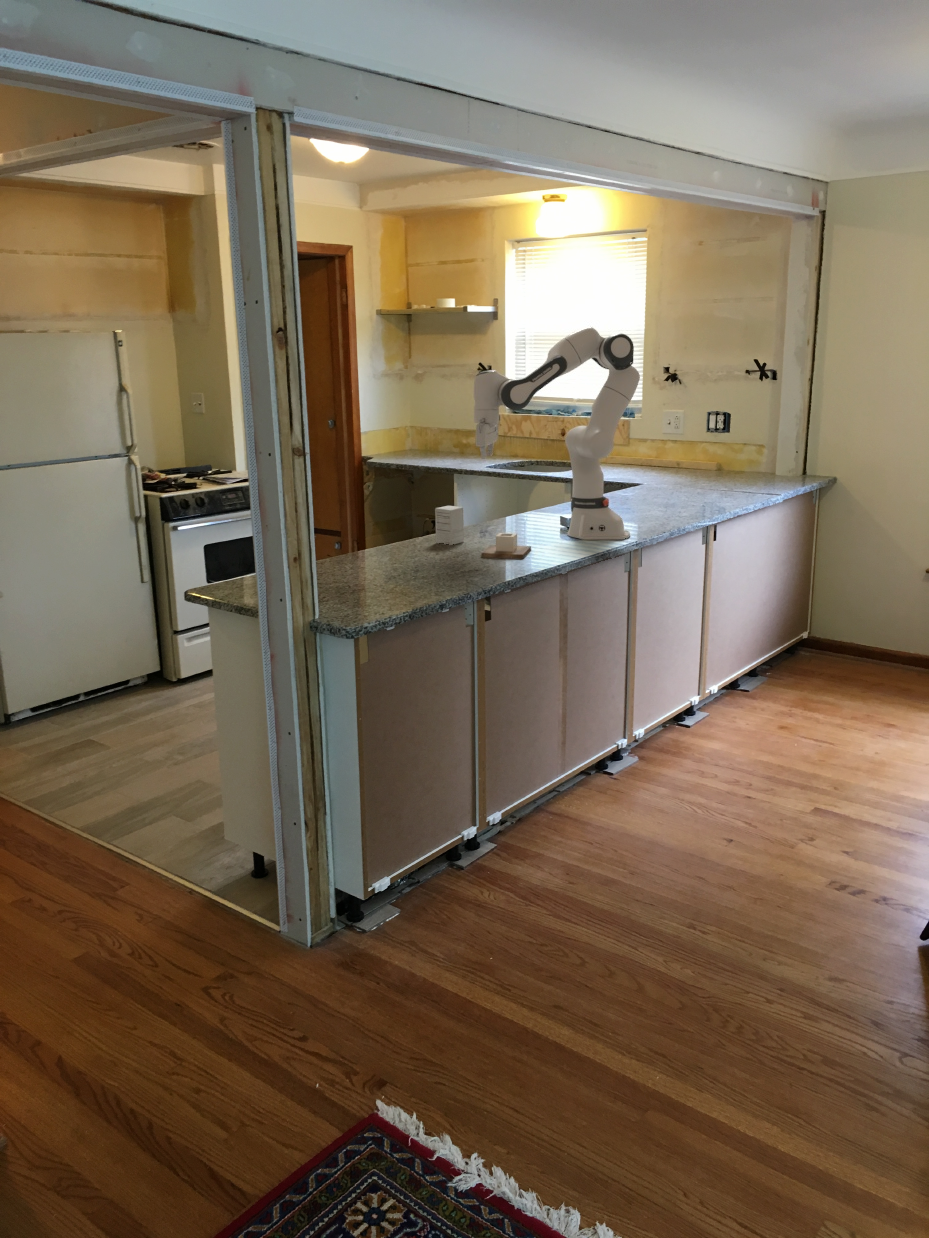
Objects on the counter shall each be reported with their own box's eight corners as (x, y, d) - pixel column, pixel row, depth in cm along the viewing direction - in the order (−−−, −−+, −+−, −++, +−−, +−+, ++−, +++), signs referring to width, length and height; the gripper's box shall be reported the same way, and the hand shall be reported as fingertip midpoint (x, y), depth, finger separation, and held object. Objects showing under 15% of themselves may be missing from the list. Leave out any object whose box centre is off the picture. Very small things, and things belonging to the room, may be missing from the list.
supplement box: (448, 539, 359) (448, 505, 355) (464, 542, 354) (464, 507, 351) (435, 543, 353) (434, 507, 350) (451, 545, 349) (450, 509, 345)
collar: (517, 548, 335) (517, 533, 333) (513, 551, 329) (513, 536, 328) (499, 547, 336) (499, 532, 335) (495, 551, 331) (495, 536, 329)
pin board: (530, 550, 338) (530, 533, 336) (522, 559, 325) (522, 541, 323) (490, 549, 341) (490, 531, 340) (481, 557, 328) (481, 539, 327)
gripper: (488, 419, 340) (488, 460, 344) (501, 415, 359) (501, 454, 363) (470, 419, 342) (471, 460, 345) (484, 415, 361) (484, 453, 365)
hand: (486, 457), depth 354 cm, fingers open, 8 cm apart
